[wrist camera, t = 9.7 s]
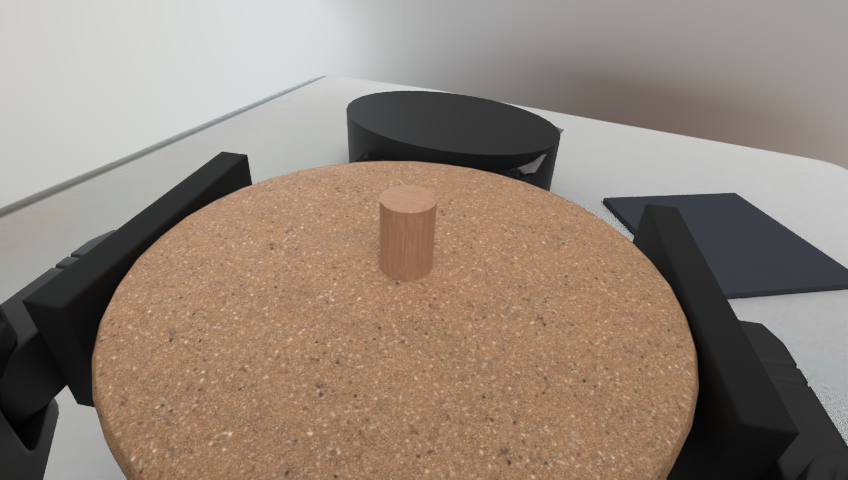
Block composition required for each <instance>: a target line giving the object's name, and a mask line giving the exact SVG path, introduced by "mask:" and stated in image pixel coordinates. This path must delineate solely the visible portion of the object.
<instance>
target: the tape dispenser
mask: <svg viewBox="0 0 848 480" xmlns="http://www.w3.org/2000/svg"><path fill="white" fill-rule="evenodd" d="M347 126H348V145H349V163H355V162H375V161H415V162H426V163H437V164H446V165H453V166H459V167H466V168H472V169H477V170H481V171H485V172H490V173H494V174H498V175H502V176H505V177H509V178H512V179H515V180H519V181H522V182H526V183H529V184H531V185H534V186H536V187H539V188H541V189H544V190H546V191H549V190H550V185H551V180H552V175H553V171H554V166H555V161H556V156H557V151H558V146H559V141H560V134H561V133H562V131H563V129H560V128H558V127H555V126H554V125H553V124H552V123H550V122H549V121H547V120H546V119H544V118H542V117H540V116H538V115H536V114H533V113H531V112H529V111H526V110H524V109H521V108H517V107H514V106H511V105H508V104H504V103H500V102H496V101H492V100H488V99H483V98H478V97H472V96H466V95H459V94H451V93H442V92H428V91H392V92H382V93H375V94H370V95H366V96H362V97H360V98H357V99H355V100H353V101H352V102H351V103H349V105H348V107H347Z"/></svg>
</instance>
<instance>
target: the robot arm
mask: <svg viewBox="0 0 848 480" xmlns="http://www.w3.org/2000/svg"><path fill="white" fill-rule="evenodd" d="M251 185H252V181H251V175H250V169H249V163H248V157H247V155H245V154H236V153H228V152H221V153H220V154H218V155H217V156H216V157H214V158H213V159H212V160H210V161H209V162H208V163H206V164H205V165H203V166H202V167H201V168H199V169H198V170H197V171H195V172H194V173H193V174H191V175H190V176H189V177H187V178H186V179H185V180H183V181H182V182H181V183H179V184H178V185H177V186H175V187H174V188H173V189H171V190H170V191H169V192H167V193H166V194H165V195H163V196H162V197H161V198H159V199H158V200H157V201H155V202H154V203H153V204H151V205H150V206H148V207H147V208H146V209H144V210H143V211H142V212H140V213H139V214H138V215H136V216H135V217H134V218H132V219H131V220H130V221H128V222H127V223H126V224H124V225H123V226H122V227H120V228H119V229H118V230H113V231H110V232H108V233H106V234H103V235H101V236H99V237H97V238H94V239H92V240H90V241H88V242H87V243H85V244H84V245H83V246H81V247H80V248H79V249H77V250H76V251H74V252H73V253H72V254H71V257H66V258H65V259H63V260H62V261H61V262H59V263H58V264H56V267H55V268H51V269H49V270H48V271H47V272H45V273H44V274H43V275H41V276H40V277H38V278H37V279H36V280H34V281H33V282H31V283H30V284H29V285H27V286H26V287H25V288H23V289H22V290H20V291H19V292H18V293H16V294H15V295H14V296H12V297H11V298H9V299H8V300H7V301H5V302H4V303H2V304H1V305H0V480H43V477H44V473H45V469H46V465H47V461H48V456H49V452H50V448H51V444H52V440H53V436H54V431H55V427H56V423H57V419H58V415H59V410H58V404H57V402H56V400H55V399H54V397H55V396H56V395H57V394H58V393H59V392H60V391H61V390H62V389H63V388H64V387H65V386H66V385H68V387H69V389H70V391H71V392H72V394H73V396H74V398H75V400H76V402H77V403H78V404H80V405H85V406H91V407H95V405H94V401H93V392H92V355H93V351H94V347H95V342H96V338H97V334H98V329H99V325H100V322H101V320H102V318H103V316H104V313H105V311H106V309H107V307H108V305H109V303H110V301H111V299H112V297H113V295H114V293H115V291H116V289H117V287H118V286H119V284H120V283H121V281H122V280H123V279H124V277H125V276H126V274H127V273H128V272H129V270H130V269H131V267H132V266H133V265H134V263H135V262H136V260H137V259H138V258H139V257H140V256H141V255H142V254H143V253H144V252H145V251H146V250H147V249H149V248H150V247H151V246H152V245H153V244H154V243H155V242H156V241H157V240H158V239H159V238H160V237H161V236H162V235H164V234H165V233H166V232H168V231H169V230H170V229H172V228H173V227H174V226H175V225H177V224H178V223H179V222H181V221H182V220H183V219H185V218H186V217H187V216H189V215H191V214H193V213H195V212H196V211H198V210H200V209H202V208H203V207H205V206H207V205H209V204H210V203H212V202H214V201H216V200H218V199H220V198H222V197H225V196H227V195H229V194H231V193H233V192H235V191H238V190H240V189H242V188H245V187H248V186H251ZM632 243H633V244H634V245H635V246H636V247H637V248H638V249H639V250H640V251H641V252H642V253H643V254H644V255H645V256H646V257H647V258H648V259H649V260H650V261H651V262H652V263H653V265H654V266H655V267H656V269H657V270H658V271H659V272H660V274H661V275H662V276H663V277H664V279H665V280H666V281H667V282H668V284H669V285H670V286H671V288H672V290H673V292H674V294H675V296H676V298H677V300H678V302H679V304H680V306H681V308H682V310H683V312H684V314H685V317H686V319H687V321H688V324H689V328H690V331H691V335H692V338H693V341H694V345H695V348H696V352H697V363H698V380H699V391H698V397H697V402H696V407H695V412H694V418H693V423H692V428H691V430H690V432H689V434H688V436H687V438H686V440H685V442H684V444H683V446H682V448H681V450H680V452H679V455H678V457H677V459H676V461H675V463H674V465H673V467H672V469H671V471H670V473H669V474H668V476H667V478H666V480H848V446H847V444H846V443H845V441H844V439H843V438H842V436H841V435H840V433H839V431H838V430H837V428H836V427H835V425H834V423H833V422H832V420H831V419H830V417H829V415H828V414H827V412H826V411H825V409H824V407H823V406H822V404H821V403H820V401H819V399H818V398H817V396H816V395H815V393H814V391H813V390H812V388H811V387H808V385H807V384H808V382H807V380H806V378H805V377H804V375H803V374H802V372H801V370H800V369H797V368H796V366H797V364H796V362H795V361H794V359H793V358H792V356H791V354H790V353H789V351H788V350H787V348H786V346H785V345H784V343H783V342H782V341H780V340H779V339H778V338H777V337H776V336H775V335H774V334H773V333H771V332H770V331H769V330H768V329H767V328H766V327H765V326H764V325H762V324H760V323H753V322H747V321H740V320H738V319H737V317H736V315H735V313H734V311H733V309H732V308H731V306H730V304H729V302H728V300H727V298H726V297H725V295H724V293H723V291H722V289H721V287H720V286H719V284H718V282H717V280H716V278H715V276H714V274H713V273H712V271H711V269H710V267H709V265H708V263H707V262H706V260H705V258H704V256H703V254H702V252H701V251H700V249H699V247H698V245H697V243H696V241H695V240H694V238H693V236H692V234H691V232H690V230H689V229H688V227H687V225H686V223H685V221H684V219H683V218H682V216H681V214H680V212H679V210H678V208H677V207H669V206H661V205H653V204H646V205H645V208H644V211H643V213H642V216H641V219H640V222H639V225H638V228H637V231H636V234H635V236H634V239H633V242H632Z"/></svg>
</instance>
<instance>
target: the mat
mask: <svg viewBox="0 0 848 480" xmlns="http://www.w3.org/2000/svg"><path fill="white" fill-rule="evenodd" d="M603 203H604V204H605V205H606V207H607V208H608V209H609V210H610V211H611V212H612V213H613V214H614V215H615V216H616V217H617V218H618V219H619V220H620V221H621V222H622V223H623V224H624V225H625V226H626V227H627V228H628V229H629V230H630V231H631V232H632V233H633V234H634V235H635V234H636V231H637V228H638V225H639V222H640V219H641V216H642V213H643V211H644V208H645V205H646V204H653V205H661V206H669V207H677V208H678V210H679V212H680V214H681V216H682V218H683V219H684V221H685V223H686V225H687V227H688V229H689V230H690V232H691V234H692V236H693V238H694V240H695V241H696V243H697V245H698V247H699V249H700V251H701V252H702V254H703V256H704V258H705V260H706V262H707V263H708V265H709V267H710V269H711V271H712V273H713V274H714V276H715V278H716V280H717V282H718V284H719V286H720V287H721V289H722V291H723V293H724V295H725V297H726V298H727V299H731V298H743V297H755V296H767V295H779V294H791V293H803V292H815V291H827V290H839V289H848V269H847V268H845V267H844V266H842V265H841V264H839V263H838V262H836V261H835V260H833V259H832V258H830V257H829V256H827V255H826V254H824V253H823V252H822V251H820V250H819V249H817V248H816V247H814V246H813V245H811V244H810V243H808V242H807V241H805V240H804V239H802V238H801V237H799V236H798V235H796V234H795V233H793V232H792V231H790V230H789V229H787V228H786V227H785V226H783V225H782V224H780V223H779V222H777V221H776V220H774V219H773V218H771V217H770V216H768V215H767V214H765V213H764V212H762V211H761V210H759V209H758V208H756V207H755V206H753V205H752V204H751V203H749V202H748V201H746V200H745V199H743V198H742V197H740V196H739V195H737V194H736V193H722V194H696V195H670V196H644V197H619V198H604V201H603Z"/></svg>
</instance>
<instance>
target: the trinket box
mask: <svg viewBox="0 0 848 480" xmlns="http://www.w3.org/2000/svg"><path fill="white" fill-rule="evenodd" d="M698 391H699V380H698V363H697V352H696V348H695V345H694V341H693V338H692V335H691V331H690V328H689V324H688V321H687V319H686V317H685V314H684V312H683V310H682V308H681V306H680V304H679V302H678V300H677V298H676V296H675V294H674V292H673V290H672V288H671V286H670V285H669V284H668V282H667V281H666V280H665V279H664V277H663V276H662V275H661V274H660V272H659V271H658V270H657V269H656V267H655V266H654V265H653V263H652V262H651V261H650V260H649V259H648V258H647V257H646V256H645V255H644V254H643V253H642V252H641V251H640V250H639V249H638V248H637V247H636V246H635V245H634V244H633V243H632V242H631V241H630V240H629V239H628V238H626V237H625V236H624V235H622V234H621V233H620V232H618V231H617V230H616V229H614V228H613V227H612V226H610V225H609V224H608V223H606V222H605V221H603V220H602V219H600V218H598V217H597V216H595V215H594V214H592V213H590V212H589V211H587V210H586V209H584V208H582V207H581V206H579V205H577V204H575V203H572V202H570V201H568V200H566V199H564V198H562V197H560V196H558V195H556V194H554V193H551V192H549V191H546V190H544V189H541V188H539V187H536V186H534V185H531V184H529V183H526V182H522V181H519V180H515V179H512V178H509V177H505V176H502V175H498V174H494V173H490V172H485V171H481V170H477V169H472V168H466V167H459V166H453V165H446V164H437V163H426V162H415V161H375V162H355V163H346V164H338V165H330V166H324V167H318V168H312V169H307V170H301V171H297V172H293V173H290V174H286V175H282V176H278V177H275V178H271V179H268V180H265V181H262V182H259V183H256V184H254V185H251V186H248V187H245V188H242V189H240V190H238V191H235V192H233V193H231V194H229V195H227V196H225V197H222V198H220V199H218V200H216V201H214V202H212V203H210V204H209V205H207V206H205V207H203V208H202V209H200V210H198V211H196V212H195V213H193V214H191V215H189V216H187V217H186V218H185V219H183V220H182V221H181V222H179V223H178V224H177V225H175V226H174V227H173V228H172V229H170V230H169V231H168V232H166V233H165V234H164V235H162V236H161V237H160V238H159V239H158V240H157V241H156V242H155V243H154V244H153V245H152V246H151V247H150V248H149V249H147V250H146V251H145V252H144V253H143V254H142V255H141V256H140V257H139V258H138V259H137V260H136V262H135V263H134V265H133V266H132V267H131V269H130V270H129V272H128V273H127V274H126V276H125V277H124V279H123V280H122V281H121V283H120V284H119V286H118V287H117V289H116V291H115V293H114V295H113V297H112V299H111V301H110V303H109V305H108V307H107V309H106V311H105V313H104V316H103V318H102V320H101V322H100V325H99V329H98V334H97V338H96V342H95V347H94V351H93V355H92V392H93V401H94V405H95V408H96V411H97V414H98V418H99V421H100V424H101V427H102V431H103V434H104V437H105V440H106V443H107V445H108V447H109V449H110V451H111V453H112V455H113V456H114V458H115V460H116V462H117V463H118V465H119V467H120V468H121V470H122V472H123V473H124V475H125V476H126V478H127V480H666V478H667V476H668V474H669V473H670V471H671V469H672V467H673V465H674V463H675V461H676V459H677V457H678V455H679V452H680V450H681V448H682V446H683V444H684V442H685V440H686V438H687V436H688V434H689V432H690V430H691V428H692V423H693V418H694V412H695V407H696V402H697V397H698Z"/></svg>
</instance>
